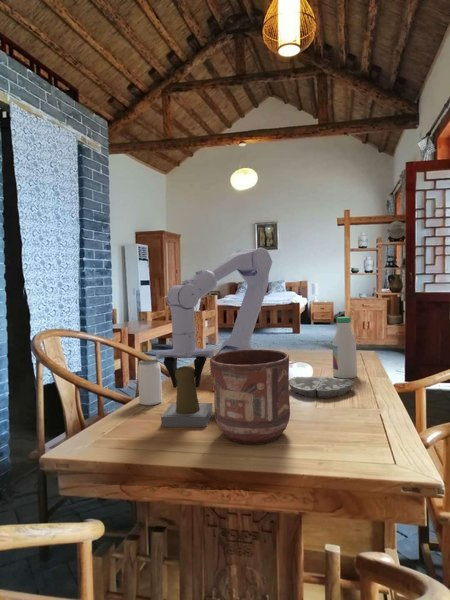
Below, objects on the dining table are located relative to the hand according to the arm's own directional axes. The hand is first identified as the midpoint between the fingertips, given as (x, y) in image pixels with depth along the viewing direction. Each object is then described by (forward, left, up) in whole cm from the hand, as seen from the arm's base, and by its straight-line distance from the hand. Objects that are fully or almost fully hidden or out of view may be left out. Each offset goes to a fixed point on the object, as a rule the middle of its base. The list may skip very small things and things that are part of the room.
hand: (186, 386), depth 115 cm
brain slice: (-35, -24, -9) cm, 43 cm away
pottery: (-17, +11, -9) cm, 22 cm away
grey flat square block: (0, 0, -8) cm, 8 cm away
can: (+14, -15, -9) cm, 22 cm away
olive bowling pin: (0, +1, -6) cm, 6 cm away
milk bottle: (-45, -43, -9) cm, 63 cm away
